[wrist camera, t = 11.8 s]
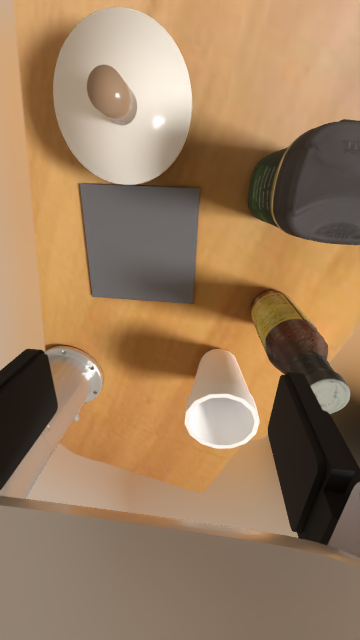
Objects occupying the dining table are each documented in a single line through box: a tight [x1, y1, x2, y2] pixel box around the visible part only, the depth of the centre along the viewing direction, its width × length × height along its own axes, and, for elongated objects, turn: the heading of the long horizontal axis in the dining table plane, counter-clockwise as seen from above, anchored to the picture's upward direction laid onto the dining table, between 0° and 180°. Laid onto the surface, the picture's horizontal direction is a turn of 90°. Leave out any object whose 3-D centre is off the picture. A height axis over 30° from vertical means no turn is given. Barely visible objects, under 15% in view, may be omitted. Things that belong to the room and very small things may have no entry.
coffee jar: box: [248, 119, 360, 245], centre depth 25 cm, size 10×8×19 cm
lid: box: [53, 7, 192, 185], centre depth 25 cm, size 14×14×6 cm
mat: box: [80, 184, 200, 304], centre depth 38 cm, size 16×16×1 cm
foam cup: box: [185, 349, 260, 448], centre depth 40 cm, size 10×9×13 cm
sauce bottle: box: [251, 291, 350, 414], centre depth 32 cm, size 6×6×20 cm
